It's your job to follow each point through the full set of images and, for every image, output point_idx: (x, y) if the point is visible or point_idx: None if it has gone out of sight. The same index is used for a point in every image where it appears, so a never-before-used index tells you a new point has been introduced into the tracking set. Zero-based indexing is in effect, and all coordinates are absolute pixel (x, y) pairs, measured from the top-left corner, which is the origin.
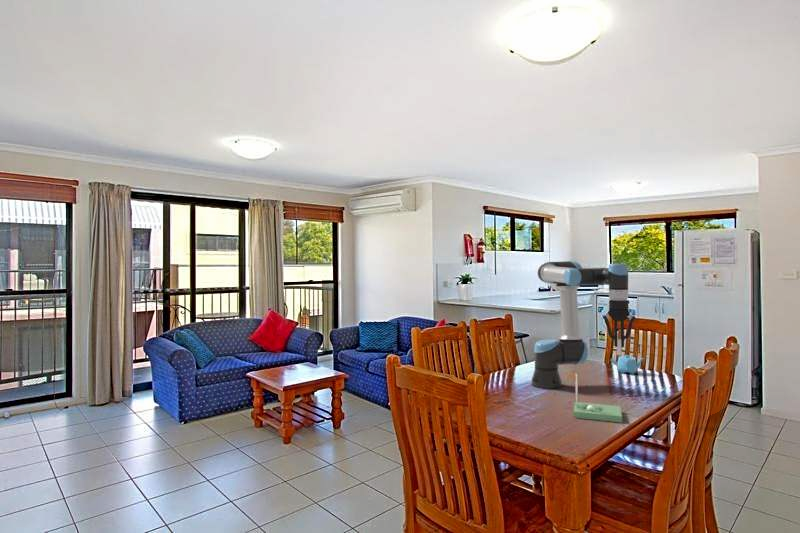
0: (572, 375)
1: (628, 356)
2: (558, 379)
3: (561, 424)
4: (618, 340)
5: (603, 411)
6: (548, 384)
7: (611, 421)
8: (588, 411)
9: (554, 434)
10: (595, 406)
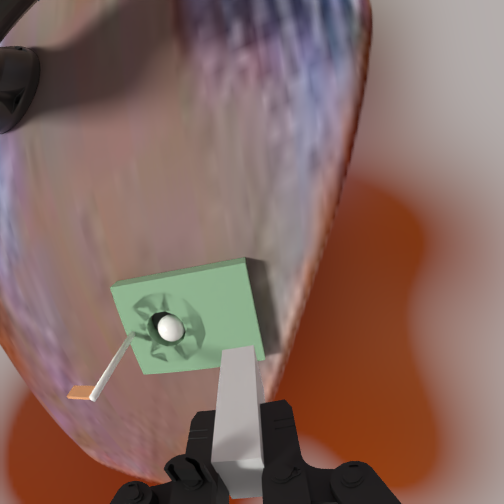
0: (83, 395)
1: None
2: (18, 84)
3: (147, 411)
4: (244, 492)
5: (209, 342)
6: (6, 124)
7: None
8: (174, 359)
9: (162, 451)
10: (175, 305)
